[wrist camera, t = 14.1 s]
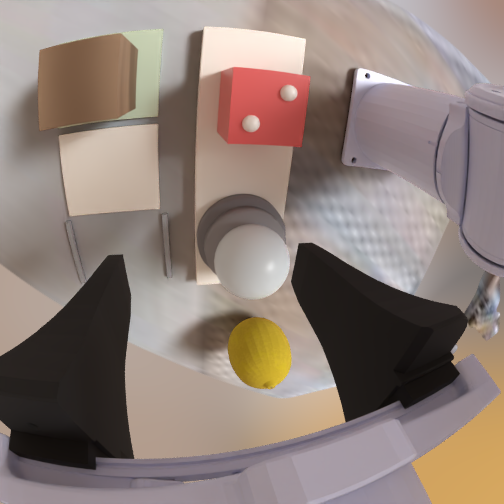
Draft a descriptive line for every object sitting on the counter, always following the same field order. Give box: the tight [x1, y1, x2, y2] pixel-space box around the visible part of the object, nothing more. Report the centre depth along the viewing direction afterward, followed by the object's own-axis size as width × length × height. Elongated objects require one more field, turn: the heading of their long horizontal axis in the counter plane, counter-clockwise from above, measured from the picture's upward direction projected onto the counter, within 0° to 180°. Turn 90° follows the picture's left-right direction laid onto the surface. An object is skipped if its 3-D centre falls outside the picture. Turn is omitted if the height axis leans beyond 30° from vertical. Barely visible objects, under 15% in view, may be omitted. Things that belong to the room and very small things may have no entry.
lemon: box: [228, 317, 291, 389], centre depth 25 cm, size 6×6×8 cm
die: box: [217, 67, 310, 147], centre depth 14 cm, size 4×4×4 cm
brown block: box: [38, 33, 138, 131], centre depth 11 cm, size 4×4×6 cm
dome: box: [204, 206, 290, 300], centre depth 18 cm, size 6×6×5 cm
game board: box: [58, 27, 306, 285], centre depth 17 cm, size 16×19×2 cm
